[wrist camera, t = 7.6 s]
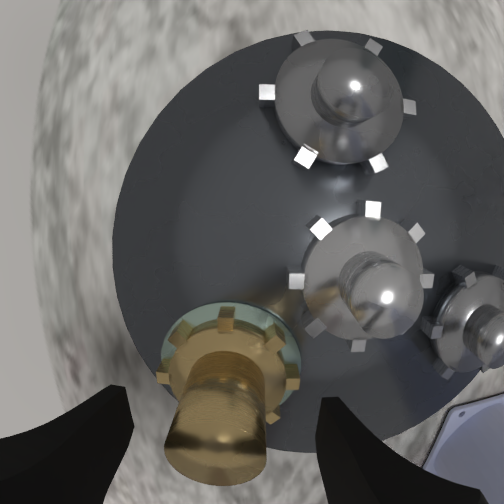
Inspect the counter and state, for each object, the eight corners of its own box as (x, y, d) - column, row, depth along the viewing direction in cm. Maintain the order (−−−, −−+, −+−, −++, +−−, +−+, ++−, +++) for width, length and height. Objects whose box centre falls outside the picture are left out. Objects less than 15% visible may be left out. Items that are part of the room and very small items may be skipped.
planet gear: (301, 307, 13) (327, 384, 8) (291, 418, 14) (302, 506, 9) (157, 303, 13) (102, 371, 8) (170, 412, 15) (140, 494, 9)
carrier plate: (515, 88, 12) (568, 73, 7) (469, 416, 16) (500, 457, 11) (127, 44, 12) (82, 2, 7) (147, 433, 16) (124, 488, 12)
